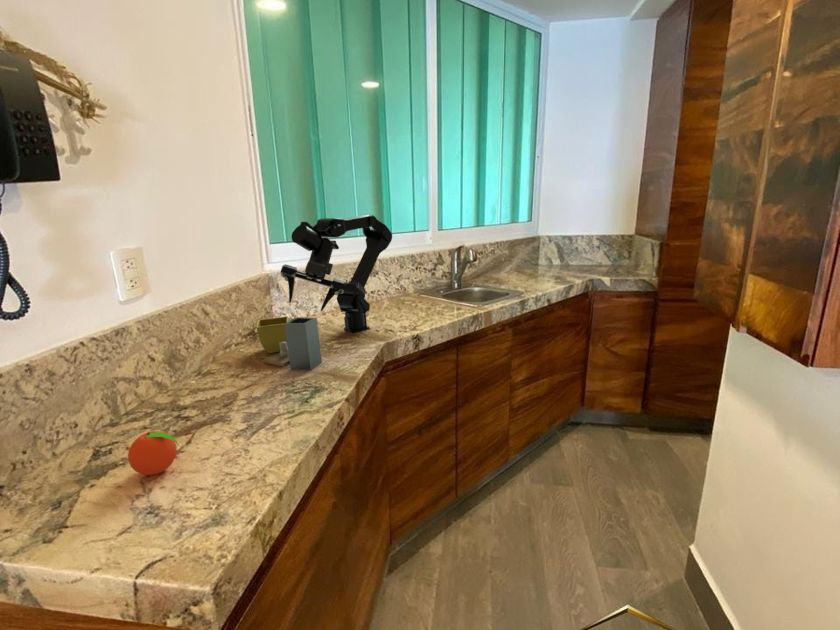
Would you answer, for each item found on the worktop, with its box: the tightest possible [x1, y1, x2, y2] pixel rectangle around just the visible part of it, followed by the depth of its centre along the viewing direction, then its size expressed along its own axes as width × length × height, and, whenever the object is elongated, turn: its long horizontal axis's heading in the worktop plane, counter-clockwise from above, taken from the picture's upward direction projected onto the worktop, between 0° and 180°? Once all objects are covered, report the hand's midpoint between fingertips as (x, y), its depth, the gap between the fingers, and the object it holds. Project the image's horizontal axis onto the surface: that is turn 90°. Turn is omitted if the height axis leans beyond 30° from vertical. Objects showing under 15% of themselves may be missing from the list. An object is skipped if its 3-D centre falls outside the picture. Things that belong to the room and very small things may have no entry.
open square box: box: [284, 316, 323, 371], centre depth 118 cm, size 6×6×12 cm
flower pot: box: [255, 316, 289, 354], centre depth 132 cm, size 9×9×9 cm
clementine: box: [127, 430, 180, 476], centre depth 74 cm, size 8×7×7 cm
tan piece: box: [263, 342, 290, 368], centre depth 124 cm, size 8×8×5 cm
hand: (305, 306), depth 130 cm, fingers open, 9 cm apart
